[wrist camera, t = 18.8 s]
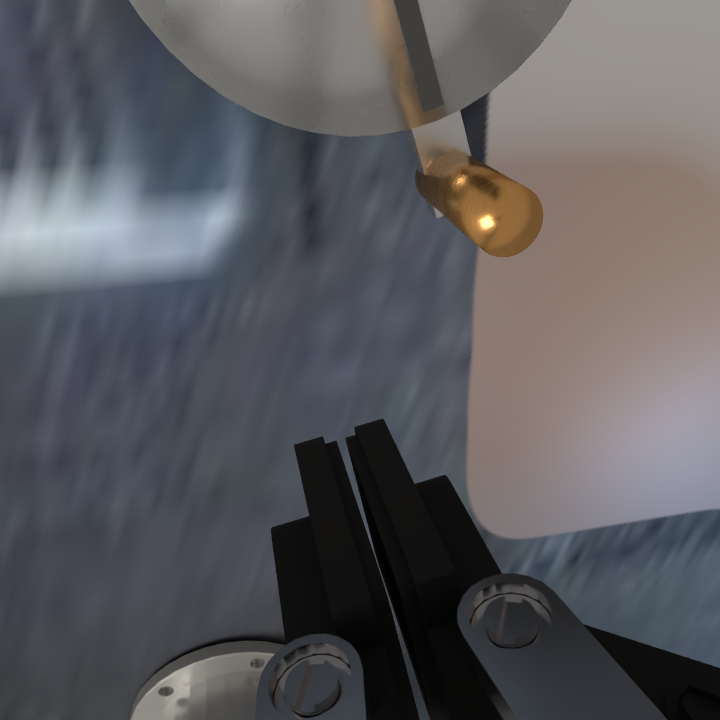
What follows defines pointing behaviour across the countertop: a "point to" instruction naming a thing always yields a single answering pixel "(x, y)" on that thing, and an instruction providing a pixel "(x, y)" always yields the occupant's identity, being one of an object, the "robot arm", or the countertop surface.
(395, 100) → the turntable
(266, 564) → the countertop surface
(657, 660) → the robot arm
